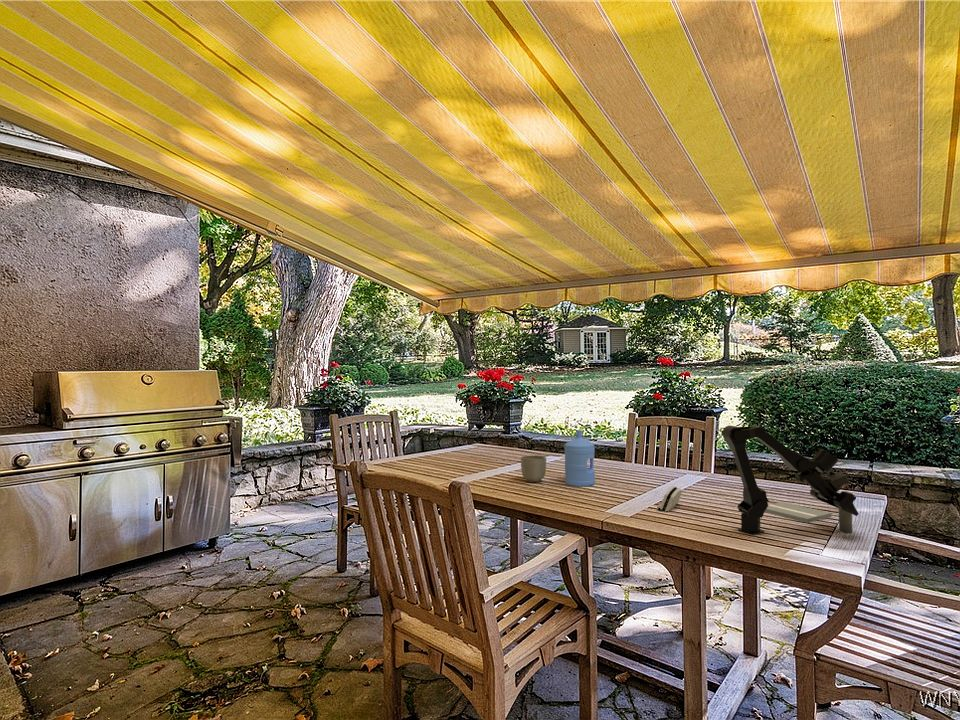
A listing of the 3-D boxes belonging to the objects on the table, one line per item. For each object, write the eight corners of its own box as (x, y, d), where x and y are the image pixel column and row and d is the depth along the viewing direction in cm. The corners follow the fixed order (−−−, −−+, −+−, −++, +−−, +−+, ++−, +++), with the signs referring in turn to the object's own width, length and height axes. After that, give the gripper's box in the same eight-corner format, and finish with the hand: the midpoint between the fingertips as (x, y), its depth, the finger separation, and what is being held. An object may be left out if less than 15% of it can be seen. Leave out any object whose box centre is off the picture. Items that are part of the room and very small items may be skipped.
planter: (521, 478, 288) (520, 455, 288) (546, 478, 287) (545, 455, 287) (520, 484, 274) (520, 459, 274) (547, 484, 273) (546, 459, 273)
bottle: (848, 533, 187) (847, 494, 187) (836, 530, 190) (835, 492, 190) (854, 532, 188) (853, 493, 189) (843, 529, 192) (842, 491, 192)
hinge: (666, 501, 234) (673, 481, 232) (676, 506, 232) (684, 486, 230) (655, 510, 221) (663, 489, 219) (666, 515, 218) (674, 494, 216)
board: (807, 522, 200) (807, 518, 200) (758, 510, 218) (758, 506, 218) (831, 516, 208) (831, 512, 208) (782, 505, 225) (782, 501, 225)
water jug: (568, 487, 266) (567, 432, 266) (562, 480, 281) (562, 429, 282) (598, 486, 266) (597, 432, 266) (591, 480, 281) (590, 428, 282)
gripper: (849, 470, 181) (883, 502, 180) (817, 461, 199) (847, 489, 199) (827, 493, 181) (860, 525, 180) (796, 481, 199) (827, 510, 199)
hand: (848, 511), depth 189 cm, fingers open, 9 cm apart
